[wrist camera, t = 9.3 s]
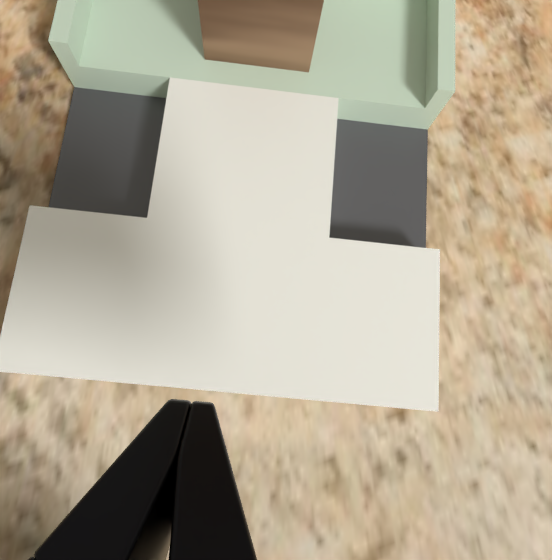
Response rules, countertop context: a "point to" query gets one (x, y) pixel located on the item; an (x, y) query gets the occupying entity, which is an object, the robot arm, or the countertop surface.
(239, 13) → the walnut block
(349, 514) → the countertop surface
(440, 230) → the countertop surface
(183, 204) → the box
